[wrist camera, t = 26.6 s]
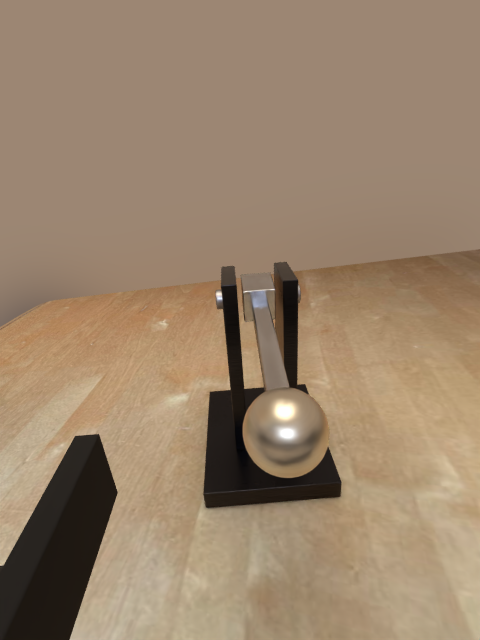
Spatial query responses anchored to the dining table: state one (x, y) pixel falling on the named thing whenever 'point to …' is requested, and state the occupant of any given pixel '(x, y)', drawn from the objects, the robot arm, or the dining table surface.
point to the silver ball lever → (278, 397)
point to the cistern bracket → (231, 406)
